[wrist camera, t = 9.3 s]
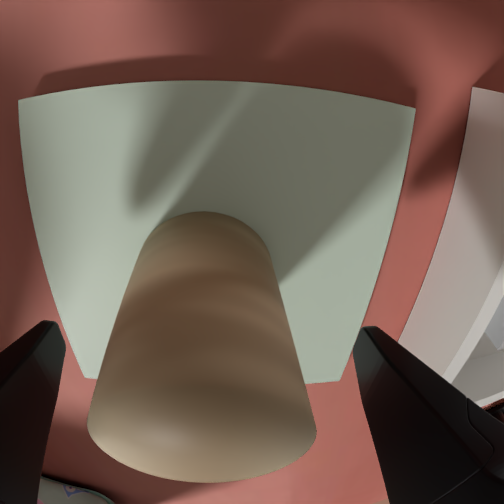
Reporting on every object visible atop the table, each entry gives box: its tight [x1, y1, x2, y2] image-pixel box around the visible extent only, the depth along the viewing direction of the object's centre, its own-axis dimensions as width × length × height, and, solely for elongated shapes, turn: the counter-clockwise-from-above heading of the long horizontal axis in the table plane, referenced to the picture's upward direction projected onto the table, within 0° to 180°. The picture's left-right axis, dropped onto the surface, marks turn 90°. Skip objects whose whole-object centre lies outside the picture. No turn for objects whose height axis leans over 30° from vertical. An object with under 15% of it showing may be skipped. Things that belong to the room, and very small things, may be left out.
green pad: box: [18, 80, 416, 384], centre depth 11 cm, size 12×12×1 cm
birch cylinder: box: [87, 211, 317, 483], centre depth 8 cm, size 4×4×6 cm
